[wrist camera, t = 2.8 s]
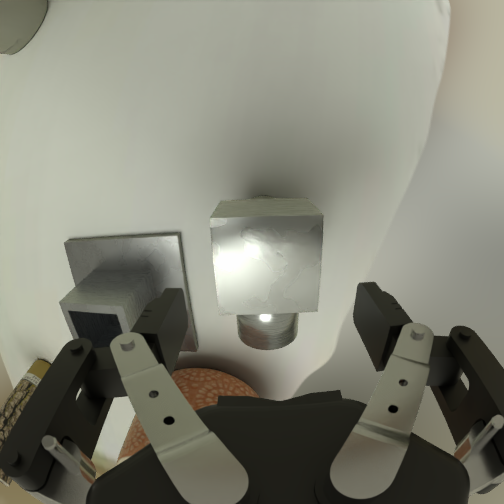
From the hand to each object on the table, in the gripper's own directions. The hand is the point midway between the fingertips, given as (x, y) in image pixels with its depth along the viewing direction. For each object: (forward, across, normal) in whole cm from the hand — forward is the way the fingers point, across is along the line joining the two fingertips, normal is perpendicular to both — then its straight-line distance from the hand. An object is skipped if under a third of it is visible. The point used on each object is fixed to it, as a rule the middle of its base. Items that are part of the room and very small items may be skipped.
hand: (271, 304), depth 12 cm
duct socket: (+14, +15, +8) cm, 22 cm away
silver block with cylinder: (+15, 0, +1) cm, 15 cm away
